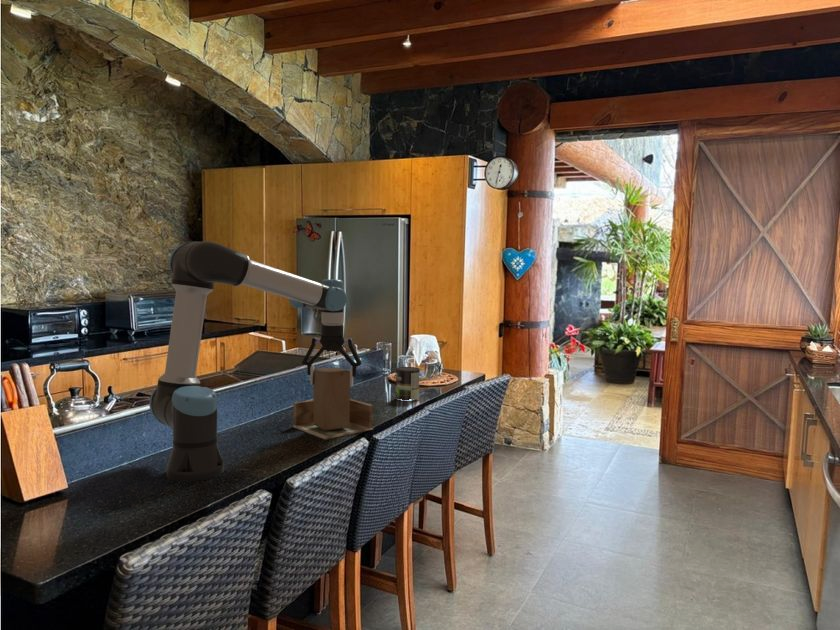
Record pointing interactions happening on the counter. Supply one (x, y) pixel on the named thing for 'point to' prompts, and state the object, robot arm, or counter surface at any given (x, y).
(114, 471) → the counter surface
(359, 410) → the corner arena
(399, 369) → the coffee can
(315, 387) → the wooden block
